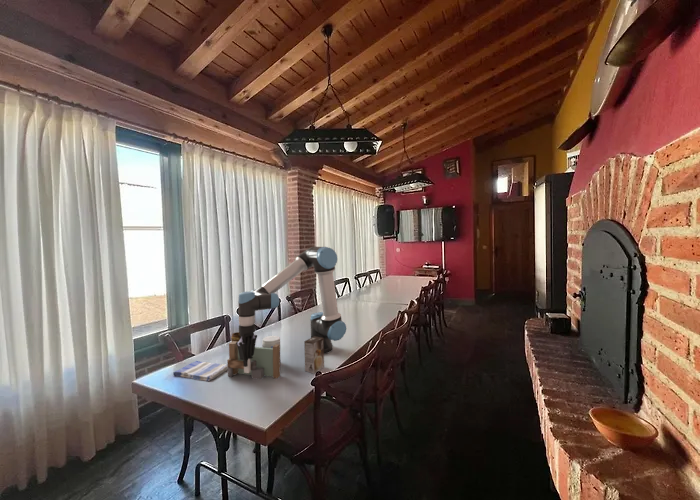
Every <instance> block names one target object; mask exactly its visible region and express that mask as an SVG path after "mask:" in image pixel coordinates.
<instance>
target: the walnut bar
mask: <svg viewBox="0 0 700 500" xmlns="http://www.w3.org/2000/svg"><path fill="white" fill-rule="evenodd" d="M227 364H228V367H231V368H239V369H244V366H243V365H244V364H243V361H237V360H233V359H229V358H228V359H227ZM256 369H257V366H256V360H253V361H251V364H250V370H256Z"/></svg>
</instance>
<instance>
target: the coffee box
mask: <svg viewBox="0 0 700 500" xmlns="http://www.w3.org/2000/svg"><path fill="white" fill-rule="evenodd" d="M323 368H325V354H324V338H321V337H315V336H314V337H312V338H311V337H310V338H308V339H306V340H305V341H304V371H305V372H308V373H312V374H316V373H317V372H319V371H320V370H322V369H323ZM318 370H319V371H318Z"/></svg>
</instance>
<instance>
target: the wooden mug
mask: <svg viewBox="0 0 700 500" xmlns="http://www.w3.org/2000/svg"><path fill="white" fill-rule="evenodd" d="M230 339H231V342H232V341H236V342H239V340H240V333H239V331H237V332H233V333H232V334H231V337H230ZM231 342H230V343H231Z"/></svg>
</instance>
